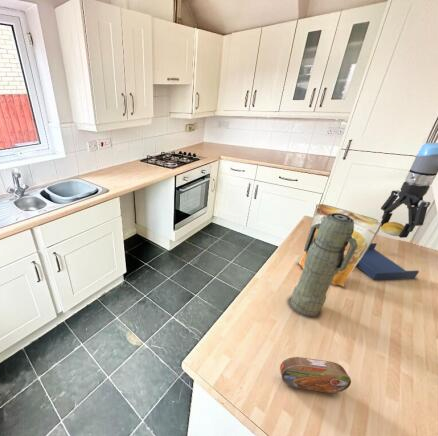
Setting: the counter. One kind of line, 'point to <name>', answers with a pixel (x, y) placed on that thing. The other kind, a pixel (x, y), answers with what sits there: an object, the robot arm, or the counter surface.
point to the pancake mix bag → (362, 234)
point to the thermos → (323, 262)
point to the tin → (314, 375)
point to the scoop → (382, 266)
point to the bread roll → (392, 228)
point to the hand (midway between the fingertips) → (392, 231)
